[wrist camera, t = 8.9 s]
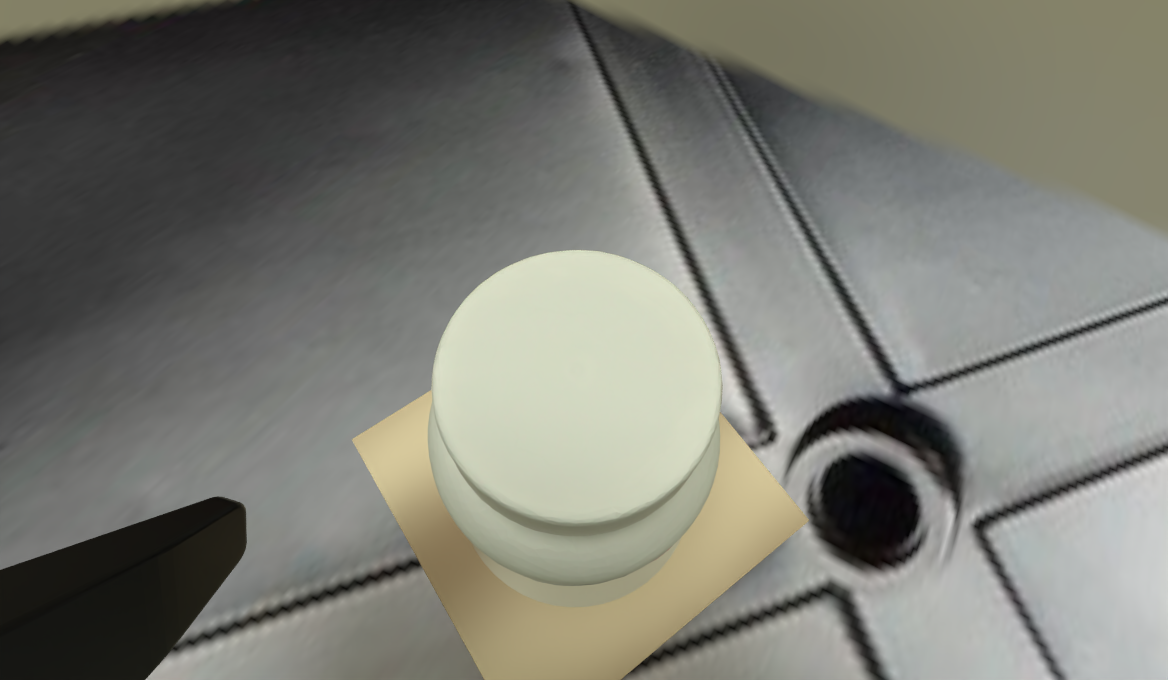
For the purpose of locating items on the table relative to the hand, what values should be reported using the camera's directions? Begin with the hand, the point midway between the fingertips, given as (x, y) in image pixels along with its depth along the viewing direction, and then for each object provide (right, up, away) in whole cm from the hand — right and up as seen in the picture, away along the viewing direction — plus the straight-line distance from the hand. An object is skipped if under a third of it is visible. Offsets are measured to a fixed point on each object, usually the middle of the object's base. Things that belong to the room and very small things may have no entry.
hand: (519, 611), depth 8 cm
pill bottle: (+1, 0, +8) cm, 8 cm away
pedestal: (+1, -1, +11) cm, 11 cm away
